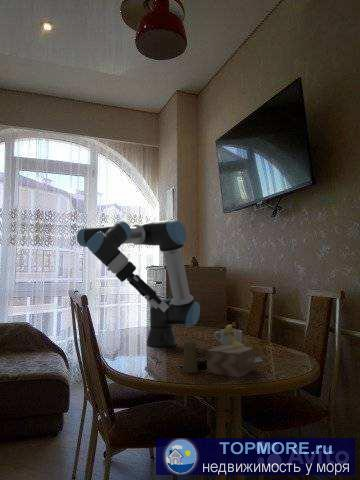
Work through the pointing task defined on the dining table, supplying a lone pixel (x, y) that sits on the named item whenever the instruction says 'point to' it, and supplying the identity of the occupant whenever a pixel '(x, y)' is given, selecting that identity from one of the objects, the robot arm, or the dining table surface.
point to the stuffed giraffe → (231, 330)
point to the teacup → (228, 337)
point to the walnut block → (230, 360)
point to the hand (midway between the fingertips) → (162, 307)
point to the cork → (189, 357)
